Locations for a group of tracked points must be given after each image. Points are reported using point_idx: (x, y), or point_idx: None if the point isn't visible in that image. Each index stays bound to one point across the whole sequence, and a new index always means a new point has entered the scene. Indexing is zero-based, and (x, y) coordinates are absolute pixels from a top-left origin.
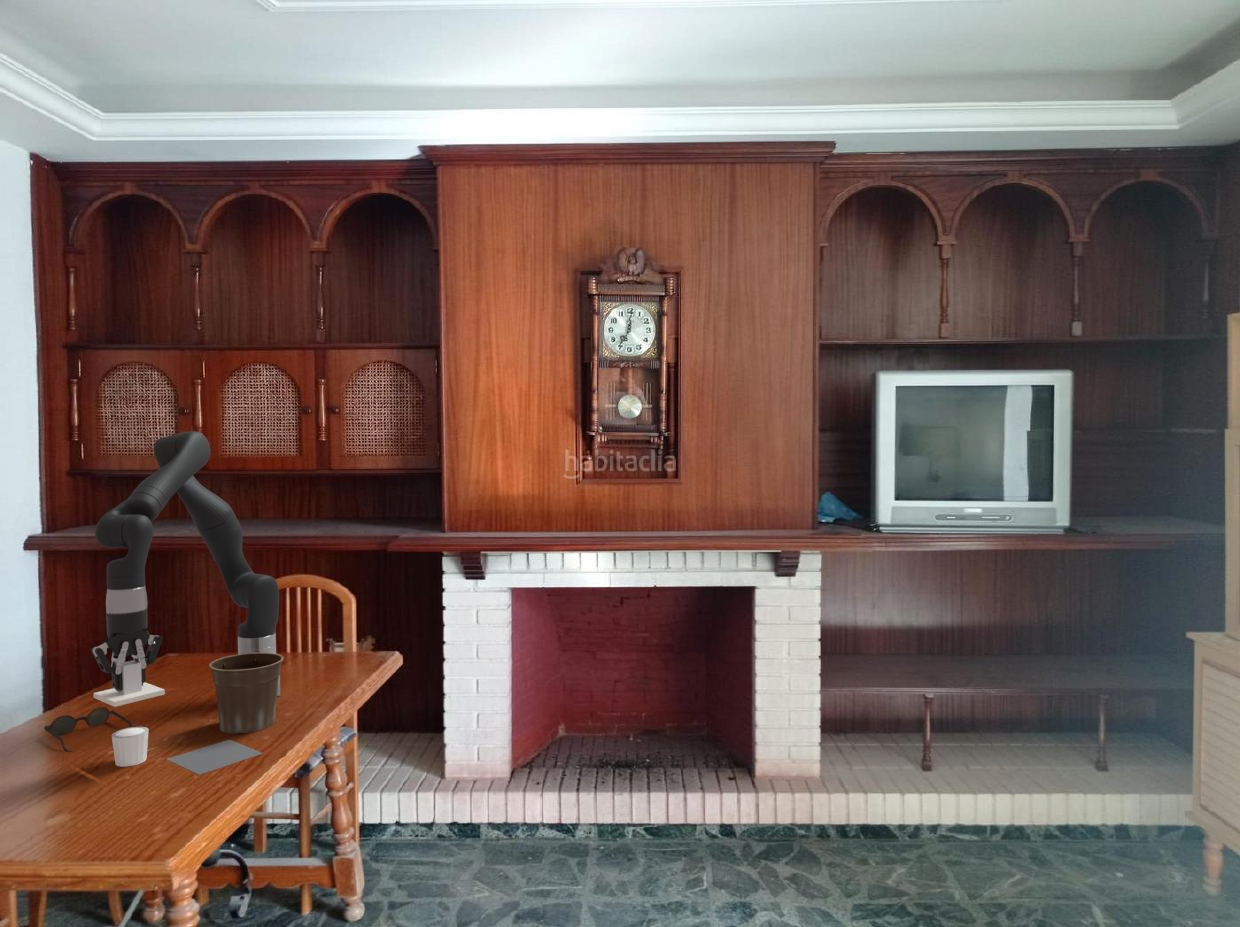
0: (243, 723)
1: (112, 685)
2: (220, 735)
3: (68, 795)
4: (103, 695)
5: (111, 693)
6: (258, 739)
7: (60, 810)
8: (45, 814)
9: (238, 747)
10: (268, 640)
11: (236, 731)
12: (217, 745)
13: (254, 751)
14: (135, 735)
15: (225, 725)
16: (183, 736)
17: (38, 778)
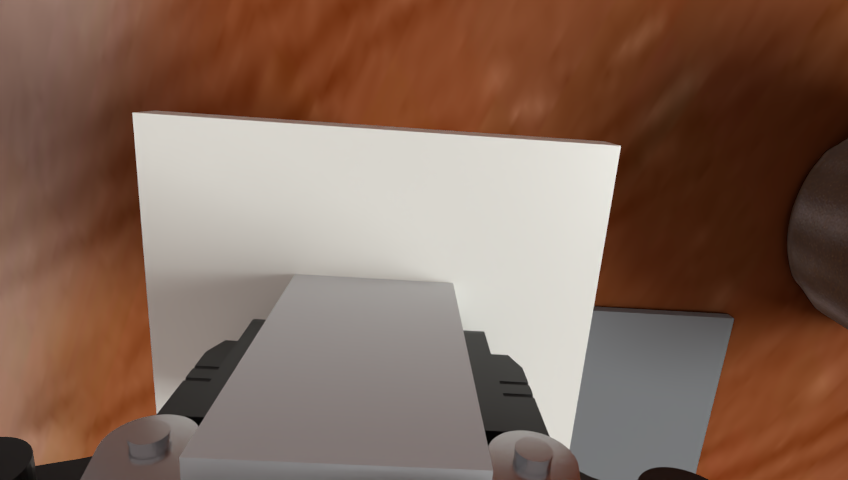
0: (843, 323)
1: (204, 360)
2: (769, 215)
3: (122, 304)
4: (171, 275)
5: (243, 277)
6: (792, 379)
7: (68, 399)
8: (25, 391)
9: (685, 418)
10: None
11: (802, 287)
12: (666, 338)
13: None
14: None
15: (811, 244)
16: (695, 81)
17: (89, 27)
